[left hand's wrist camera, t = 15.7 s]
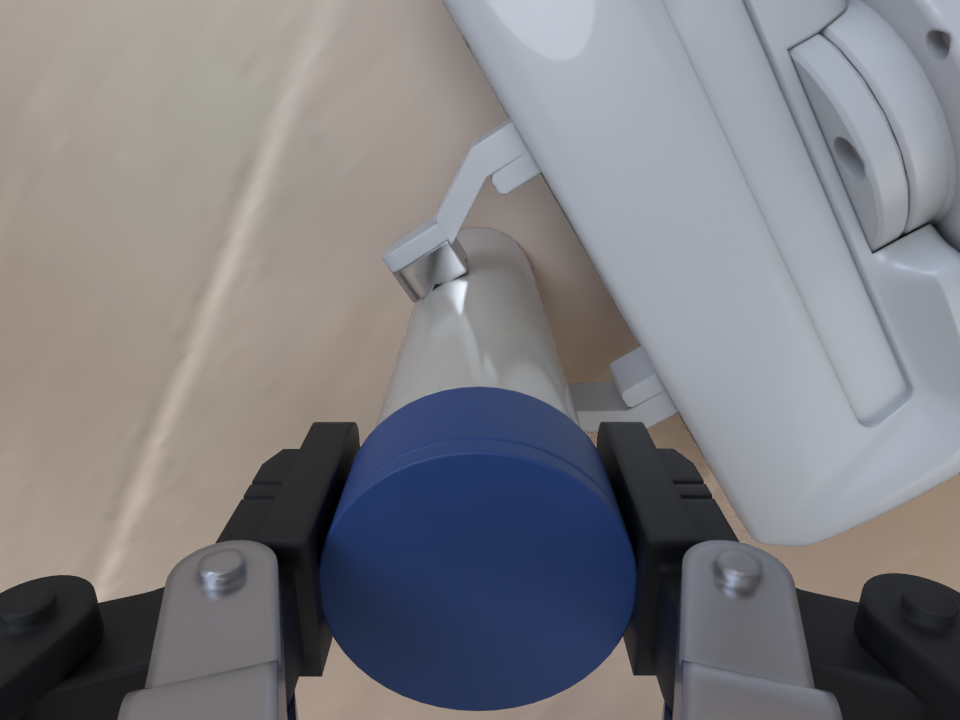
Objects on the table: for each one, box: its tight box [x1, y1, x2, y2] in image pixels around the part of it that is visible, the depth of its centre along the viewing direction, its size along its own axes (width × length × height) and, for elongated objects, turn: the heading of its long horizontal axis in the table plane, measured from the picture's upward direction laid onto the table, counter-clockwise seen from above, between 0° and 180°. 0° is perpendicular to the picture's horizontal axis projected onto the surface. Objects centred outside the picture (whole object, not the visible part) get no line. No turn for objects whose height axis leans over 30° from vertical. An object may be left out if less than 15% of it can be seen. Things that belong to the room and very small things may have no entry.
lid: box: [319, 387, 637, 711], centre depth 10 cm, size 4×4×2 cm
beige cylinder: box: [375, 228, 582, 429], centre depth 17 cm, size 4×4×16 cm
